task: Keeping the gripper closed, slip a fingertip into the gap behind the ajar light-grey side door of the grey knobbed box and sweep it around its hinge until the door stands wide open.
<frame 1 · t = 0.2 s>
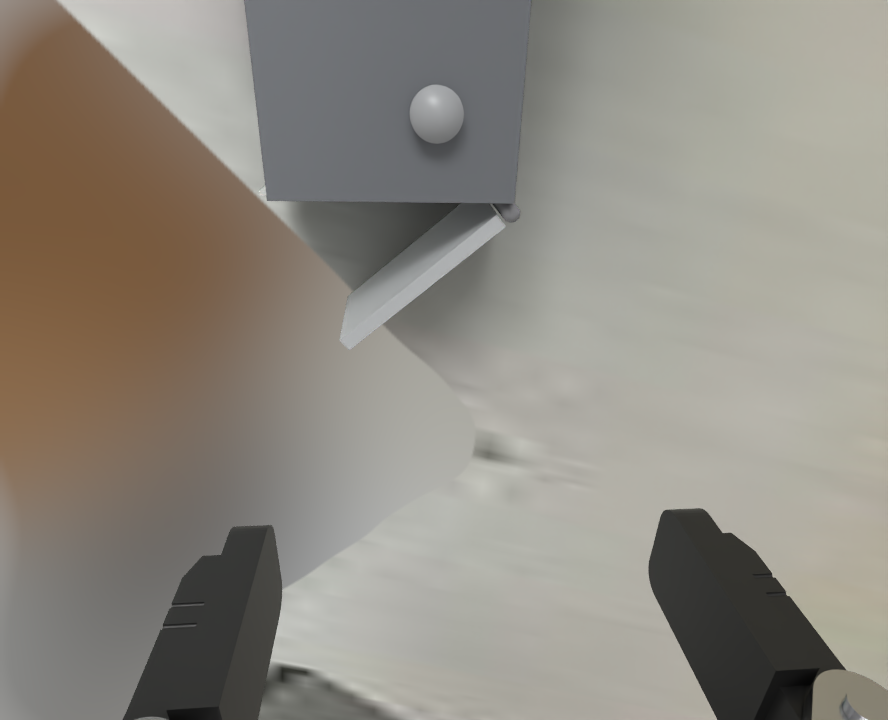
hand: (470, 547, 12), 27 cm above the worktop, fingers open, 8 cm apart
grey knobbed box: (390, 2, 30), on the worktop
side door: (426, 263, 33), point 4 cm above the worktop, hinge at 40.0°
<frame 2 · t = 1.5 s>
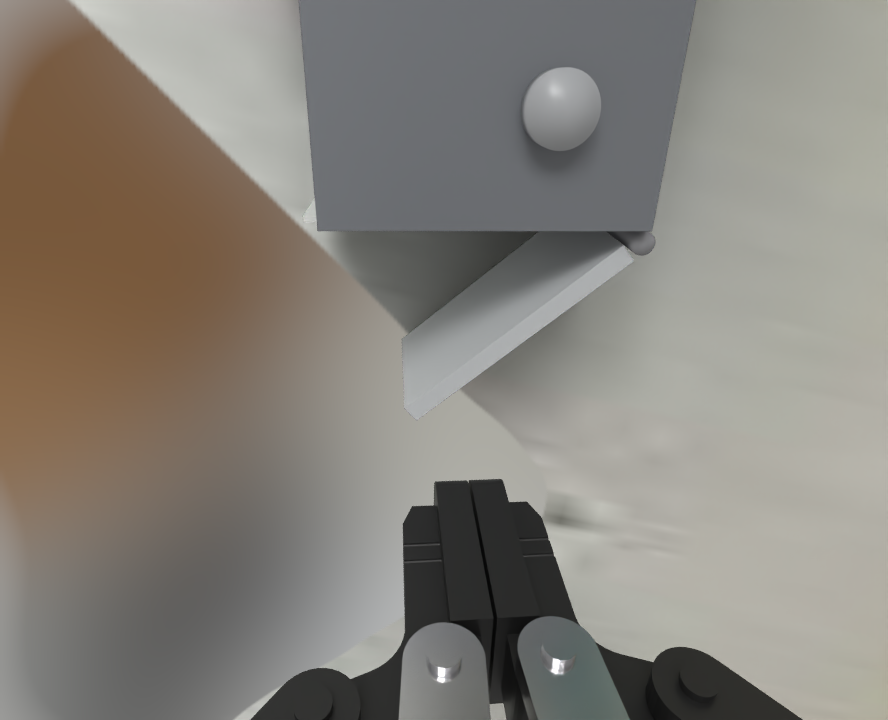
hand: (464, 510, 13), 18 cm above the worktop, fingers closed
side door: (511, 303, 26), point 4 cm above the worktop, hinge at 40.0°
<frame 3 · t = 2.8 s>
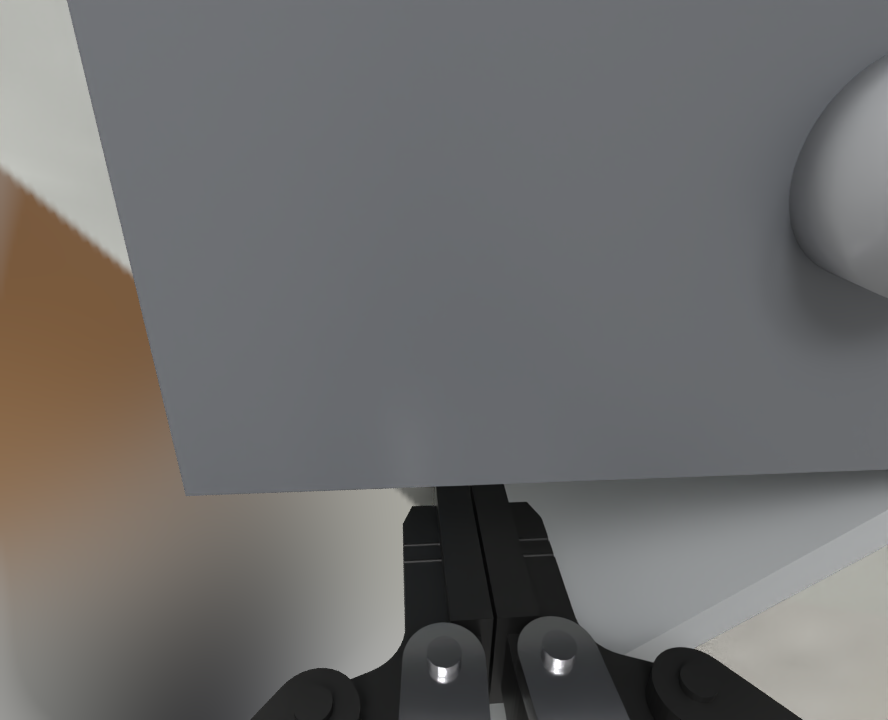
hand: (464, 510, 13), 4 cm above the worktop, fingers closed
side door: (622, 510, 13), point 4 cm above the worktop, hinge at 40.0°, touching gripper
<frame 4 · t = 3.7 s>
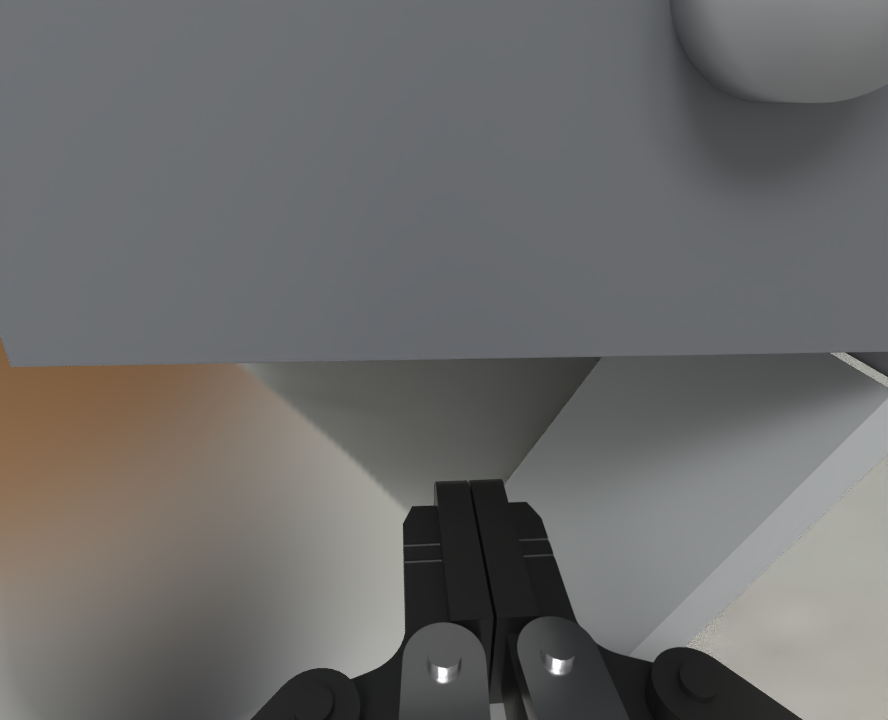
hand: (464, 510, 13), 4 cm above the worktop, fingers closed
side door: (626, 496, 13), point 4 cm above the worktop, hinge at 60.1°, touching gripper
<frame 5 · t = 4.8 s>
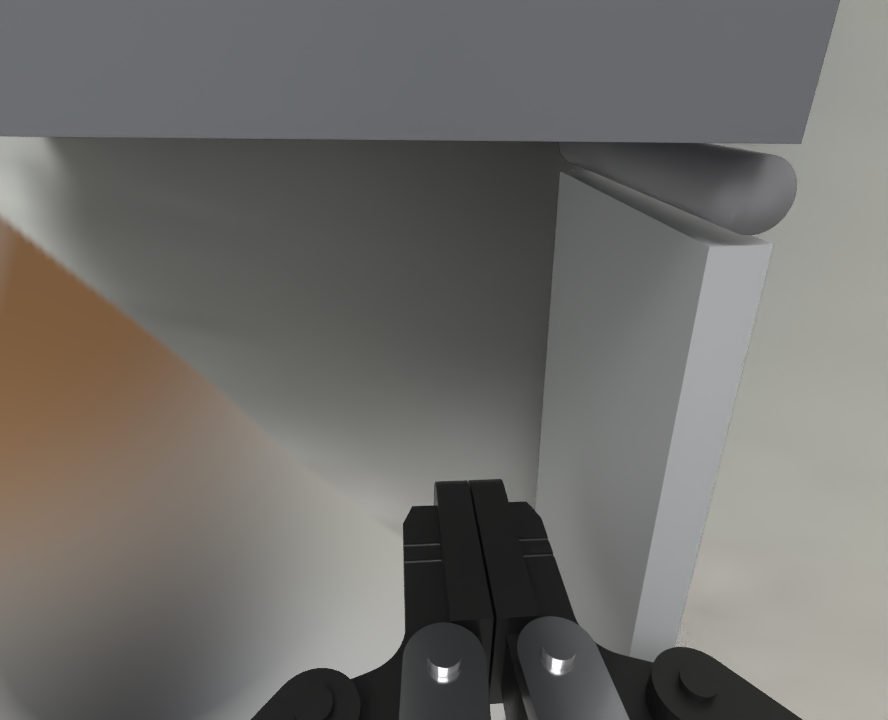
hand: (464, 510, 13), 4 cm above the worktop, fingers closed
side door: (614, 431, 12), point 4 cm above the worktop, hinge at 91.6°, touching gripper
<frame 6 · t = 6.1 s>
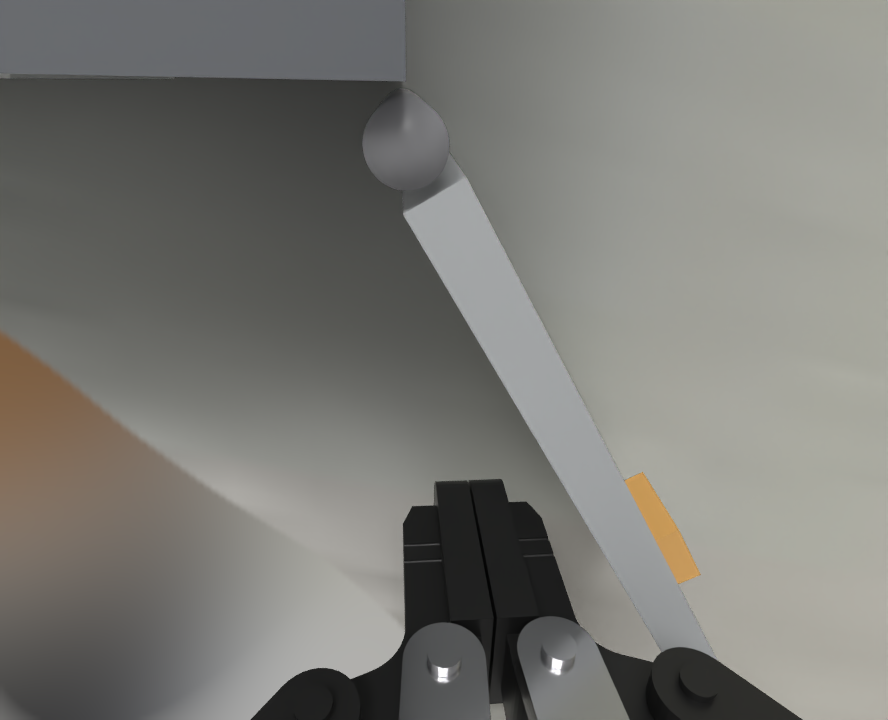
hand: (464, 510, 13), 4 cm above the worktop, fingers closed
side door: (557, 374, 11), point 4 cm above the worktop, hinge at 120.2°, touching gripper
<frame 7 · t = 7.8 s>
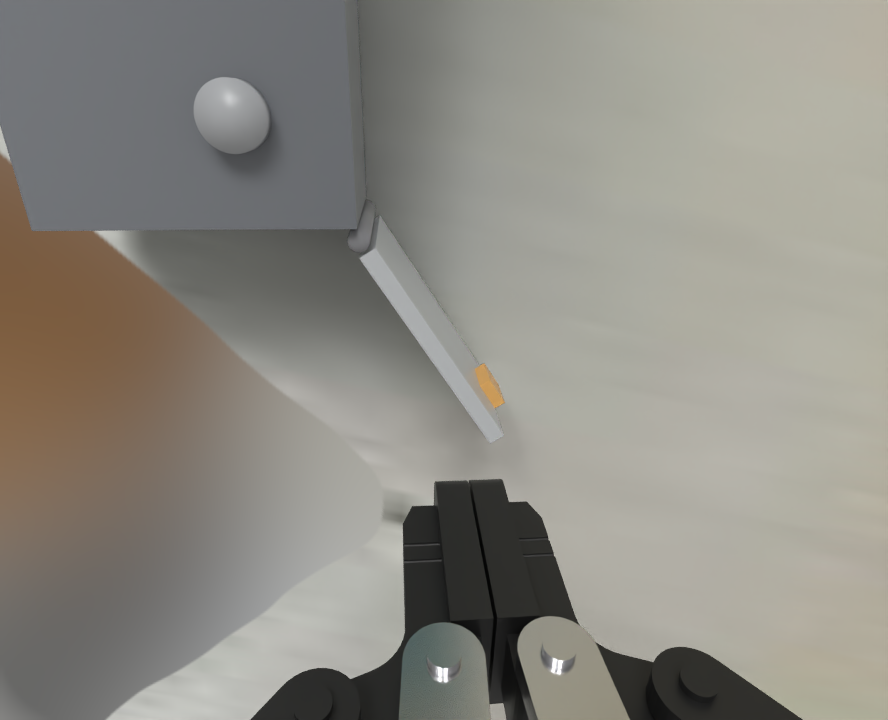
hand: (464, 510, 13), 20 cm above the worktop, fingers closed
side door: (432, 314, 28), point 4 cm above the worktop, hinge at 122.3°
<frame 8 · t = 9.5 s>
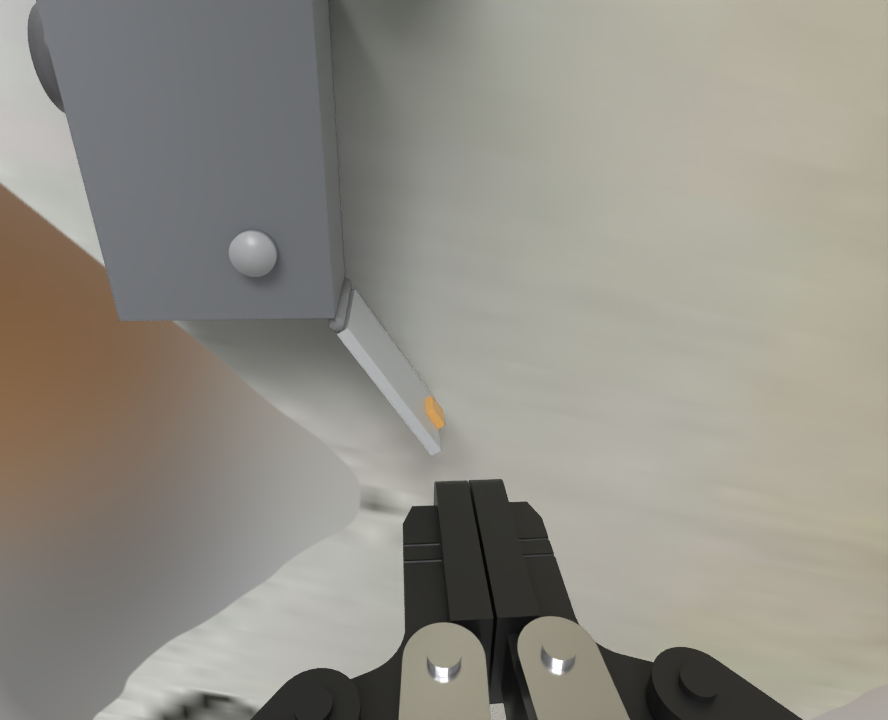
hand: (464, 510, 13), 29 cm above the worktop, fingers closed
grey knobbed box: (240, 137, 35), on the worktop
side door: (391, 363, 39), point 4 cm above the worktop, hinge at 122.3°
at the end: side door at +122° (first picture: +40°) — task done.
